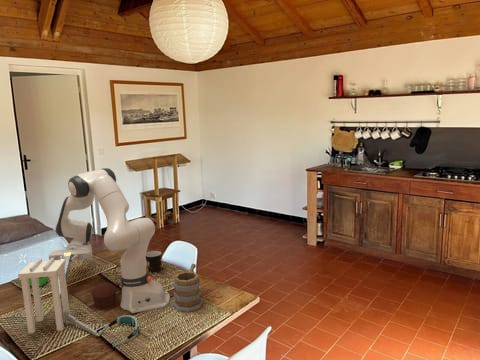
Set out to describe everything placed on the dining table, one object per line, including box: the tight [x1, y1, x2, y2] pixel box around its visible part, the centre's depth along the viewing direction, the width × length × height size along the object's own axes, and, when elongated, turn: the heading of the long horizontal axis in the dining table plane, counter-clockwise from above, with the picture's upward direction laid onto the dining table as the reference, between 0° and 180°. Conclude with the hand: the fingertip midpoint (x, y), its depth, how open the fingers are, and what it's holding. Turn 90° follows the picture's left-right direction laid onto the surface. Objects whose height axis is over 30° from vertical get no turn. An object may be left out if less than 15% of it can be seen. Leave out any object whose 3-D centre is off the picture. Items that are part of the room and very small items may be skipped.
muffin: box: [90, 282, 118, 311], centre depth 173 cm, size 12×11×10 cm
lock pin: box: [57, 252, 73, 300], centre depth 179 cm, size 3×24×3 cm
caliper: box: [62, 310, 99, 337], centre depth 154 cm, size 20×1×6 cm, turn 61°
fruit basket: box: [29, 276, 49, 287], centre depth 196 cm, size 11×9×11 cm
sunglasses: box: [95, 314, 139, 349], centre depth 150 cm, size 14×15×5 cm
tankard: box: [172, 263, 204, 313], centre depth 174 cm, size 20×13×15 cm, turn 168°
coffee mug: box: [146, 250, 162, 273], centre depth 208 cm, size 12×9×10 cm
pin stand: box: [18, 258, 71, 335], centre depth 156 cm, size 14×12×28 cm
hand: (66, 260), depth 184 cm, fingers closed on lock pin, 3 cm apart
